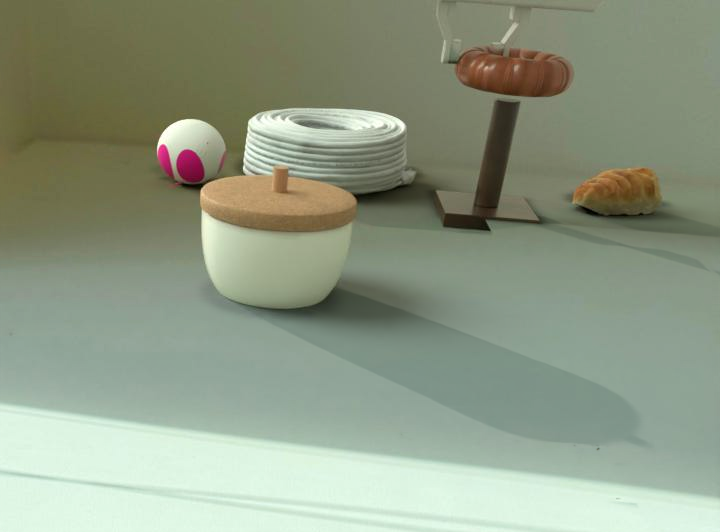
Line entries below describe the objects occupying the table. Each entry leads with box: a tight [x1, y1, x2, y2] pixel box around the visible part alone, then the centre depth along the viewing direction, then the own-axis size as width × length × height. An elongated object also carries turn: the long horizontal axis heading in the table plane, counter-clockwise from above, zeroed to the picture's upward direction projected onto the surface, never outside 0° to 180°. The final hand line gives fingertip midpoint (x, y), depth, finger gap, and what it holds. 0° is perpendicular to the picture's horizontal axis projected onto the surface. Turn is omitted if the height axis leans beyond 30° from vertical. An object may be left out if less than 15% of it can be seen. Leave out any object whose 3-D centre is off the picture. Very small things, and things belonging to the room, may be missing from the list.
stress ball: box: [156, 118, 227, 188], centre depth 94 cm, size 8×8×7 cm
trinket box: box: [199, 166, 358, 310], centre depth 64 cm, size 11×11×9 cm
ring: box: [454, 45, 575, 98], centre depth 83 cm, size 10×10×3 cm
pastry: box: [571, 166, 663, 216], centre depth 96 cm, size 9×7×4 cm
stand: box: [433, 97, 541, 231], centre depth 88 cm, size 9×9×10 cm
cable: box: [242, 107, 418, 196], centre depth 97 cm, size 18×18×6 cm
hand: (472, 65), depth 83 cm, fingers closed on ring, 3 cm apart
